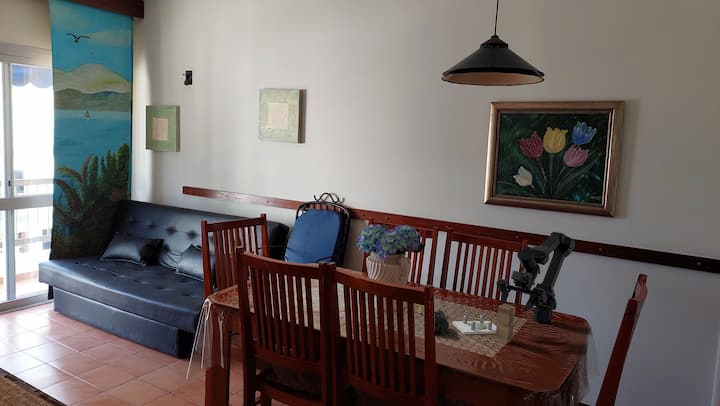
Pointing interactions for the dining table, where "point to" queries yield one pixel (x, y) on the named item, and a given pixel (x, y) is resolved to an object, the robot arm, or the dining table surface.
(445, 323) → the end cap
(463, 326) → the plate
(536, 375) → the dining table surface
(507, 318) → the walnut post
